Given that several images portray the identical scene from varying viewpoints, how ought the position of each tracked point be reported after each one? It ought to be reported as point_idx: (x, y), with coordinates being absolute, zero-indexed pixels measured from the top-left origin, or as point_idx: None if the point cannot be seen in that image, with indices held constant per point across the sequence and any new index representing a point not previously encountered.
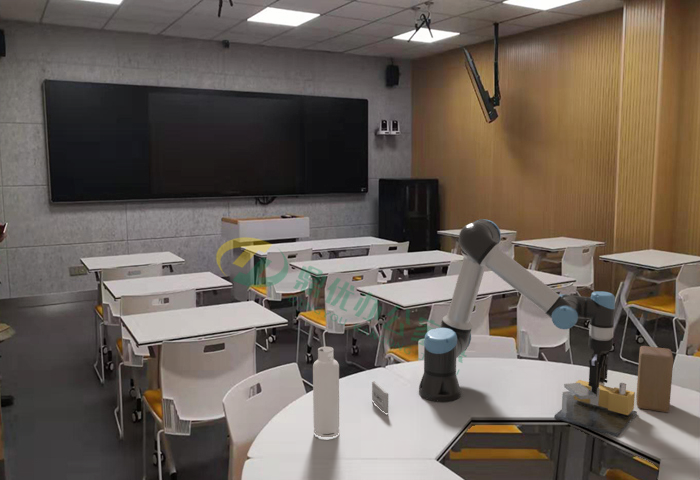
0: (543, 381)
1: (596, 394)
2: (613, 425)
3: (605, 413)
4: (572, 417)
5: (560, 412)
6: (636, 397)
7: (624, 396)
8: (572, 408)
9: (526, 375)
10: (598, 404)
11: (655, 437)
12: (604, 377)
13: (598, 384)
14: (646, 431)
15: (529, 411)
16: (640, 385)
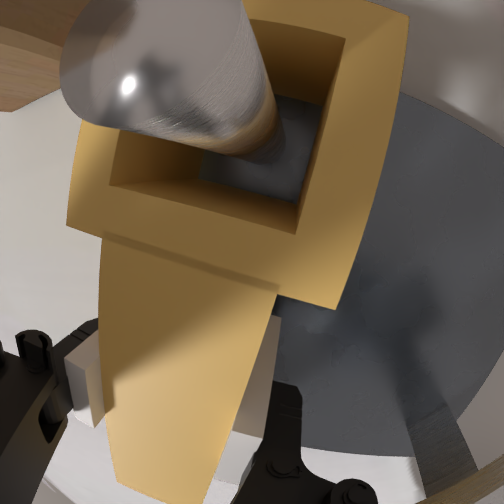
0: (85, 451)
1: (275, 394)
2: (500, 202)
3: None
4: (448, 407)
5: (394, 450)
6: (26, 100)
7: (384, 66)
8: (465, 442)
9: (84, 473)
10: (271, 319)
11: (472, 6)
12: (17, 398)
13: (273, 488)
14: (437, 23)
15: None
16: (2, 14)
